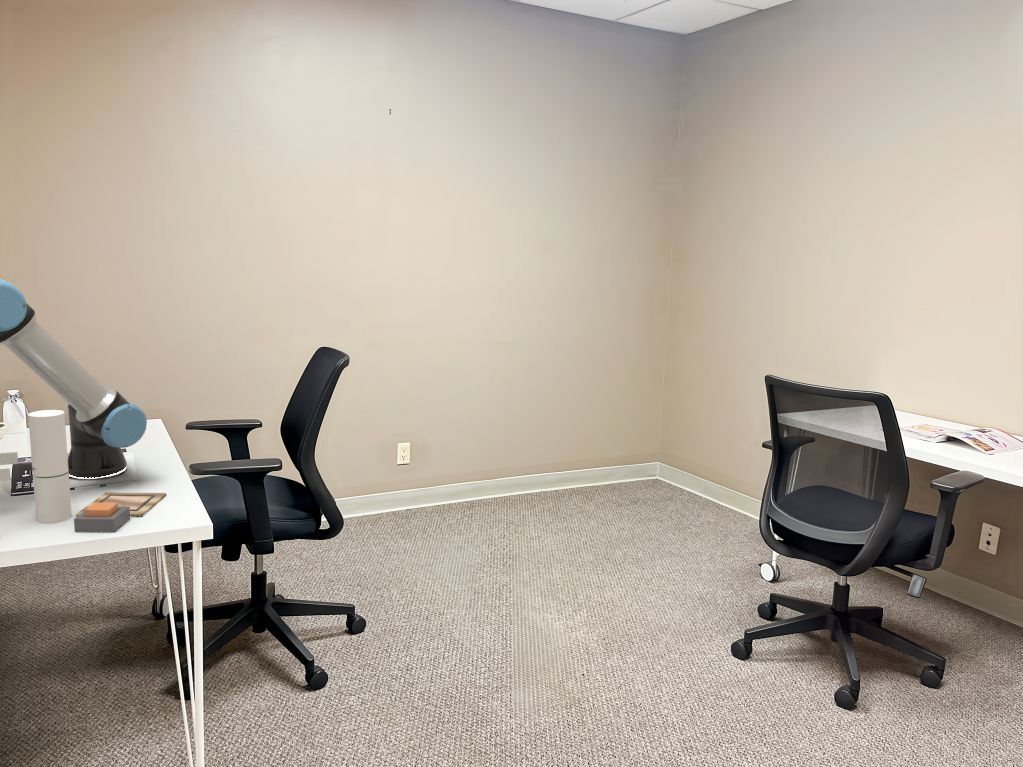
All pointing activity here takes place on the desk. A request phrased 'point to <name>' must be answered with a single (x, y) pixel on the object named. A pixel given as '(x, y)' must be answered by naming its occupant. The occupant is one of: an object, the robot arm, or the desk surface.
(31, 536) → the desk surface
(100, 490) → the desk surface
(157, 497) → the picture board
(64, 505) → the cylindrical container
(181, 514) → the desk surface
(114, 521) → the button housing
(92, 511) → the button
